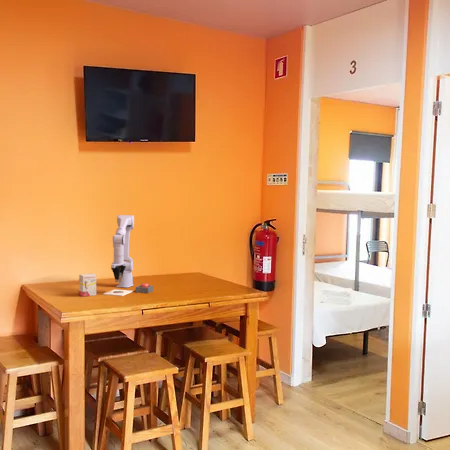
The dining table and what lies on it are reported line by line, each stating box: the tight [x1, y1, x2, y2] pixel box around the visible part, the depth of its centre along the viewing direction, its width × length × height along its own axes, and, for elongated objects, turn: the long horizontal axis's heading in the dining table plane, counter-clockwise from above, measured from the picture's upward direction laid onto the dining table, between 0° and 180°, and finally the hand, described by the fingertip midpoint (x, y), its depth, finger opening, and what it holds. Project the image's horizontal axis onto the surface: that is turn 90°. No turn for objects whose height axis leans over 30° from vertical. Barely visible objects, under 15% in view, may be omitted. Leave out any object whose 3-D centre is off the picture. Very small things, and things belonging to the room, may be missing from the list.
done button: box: [140, 282, 149, 287], centre depth 320 cm, size 4×4×2 cm
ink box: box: [78, 273, 97, 298], centre depth 306 cm, size 9×5×12 cm, turn 131°
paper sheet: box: [102, 288, 134, 297], centre depth 314 cm, size 14×12×1 cm
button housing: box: [135, 284, 154, 294], centre depth 320 cm, size 8×8×3 cm
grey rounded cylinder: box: [114, 273, 122, 283], centre depth 313 cm, size 4×4×5 cm
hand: (118, 278), depth 313 cm, fingers closed on grey rounded cylinder, 4 cm apart
